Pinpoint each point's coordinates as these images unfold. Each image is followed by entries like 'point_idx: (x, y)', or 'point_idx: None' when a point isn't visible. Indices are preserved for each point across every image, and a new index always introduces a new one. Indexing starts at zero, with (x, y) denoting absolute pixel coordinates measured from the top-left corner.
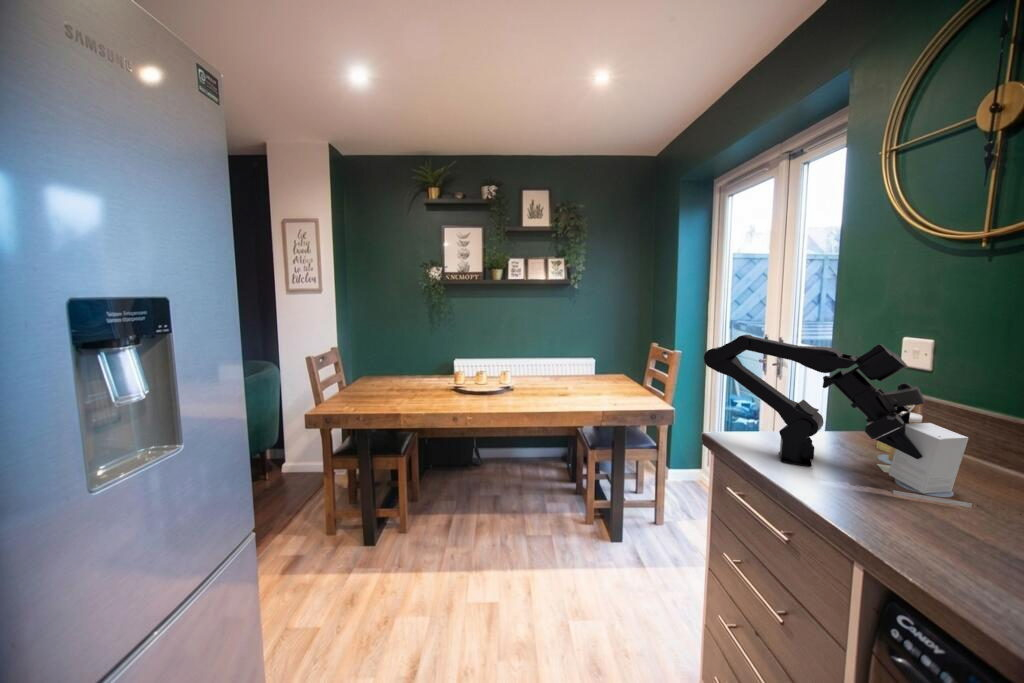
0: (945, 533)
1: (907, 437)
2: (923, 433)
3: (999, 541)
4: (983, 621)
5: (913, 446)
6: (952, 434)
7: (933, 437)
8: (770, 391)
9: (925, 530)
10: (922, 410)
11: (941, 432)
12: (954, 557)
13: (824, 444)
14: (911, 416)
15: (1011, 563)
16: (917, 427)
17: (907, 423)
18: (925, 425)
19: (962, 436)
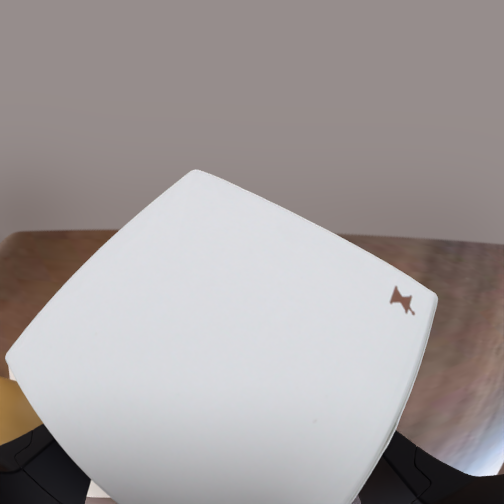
0: (447, 317)
1: (438, 471)
2: (396, 415)
3: (401, 253)
4: None
5: (401, 435)
6: (217, 229)
7: (427, 335)
8: None
9: (462, 341)
10: None
11: (249, 296)
12: (496, 294)
13: None
14: None
15: (455, 243)
16: (289, 494)
17: (22, 476)
18: (110, 423)
19: (203, 187)
